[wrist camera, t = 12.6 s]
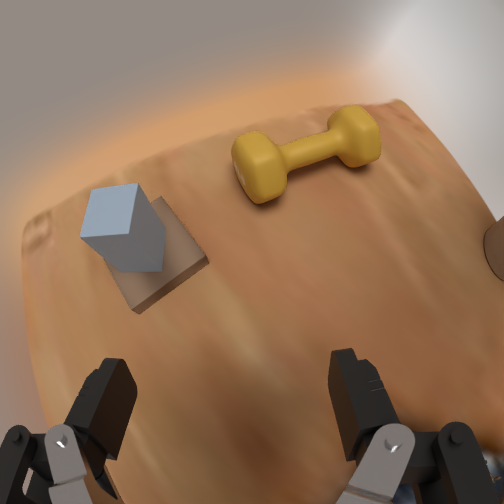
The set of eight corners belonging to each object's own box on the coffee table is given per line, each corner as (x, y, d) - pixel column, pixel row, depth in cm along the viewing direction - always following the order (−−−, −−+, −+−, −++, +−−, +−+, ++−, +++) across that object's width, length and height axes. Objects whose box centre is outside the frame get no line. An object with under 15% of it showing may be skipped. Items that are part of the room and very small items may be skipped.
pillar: (166, 229, 32) (138, 182, 24) (162, 271, 30) (128, 233, 22) (127, 232, 32) (92, 189, 24) (121, 272, 30) (79, 237, 22)
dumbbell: (342, 132, 41) (353, 92, 33) (377, 174, 37) (396, 135, 30) (228, 169, 38) (221, 125, 31) (256, 221, 35) (254, 180, 27)
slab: (167, 208, 36) (161, 195, 34) (210, 265, 33) (205, 255, 31) (106, 252, 34) (96, 243, 32) (141, 315, 31) (131, 309, 28)
